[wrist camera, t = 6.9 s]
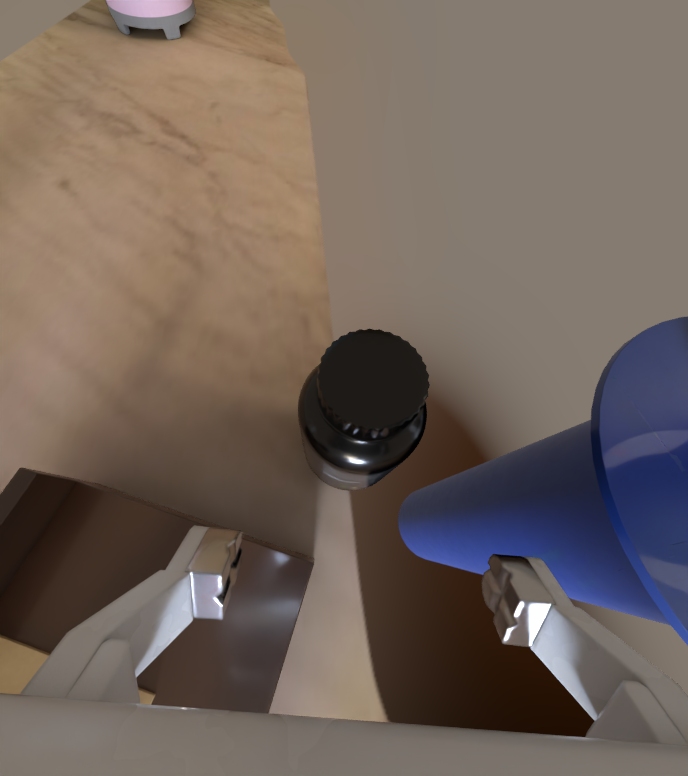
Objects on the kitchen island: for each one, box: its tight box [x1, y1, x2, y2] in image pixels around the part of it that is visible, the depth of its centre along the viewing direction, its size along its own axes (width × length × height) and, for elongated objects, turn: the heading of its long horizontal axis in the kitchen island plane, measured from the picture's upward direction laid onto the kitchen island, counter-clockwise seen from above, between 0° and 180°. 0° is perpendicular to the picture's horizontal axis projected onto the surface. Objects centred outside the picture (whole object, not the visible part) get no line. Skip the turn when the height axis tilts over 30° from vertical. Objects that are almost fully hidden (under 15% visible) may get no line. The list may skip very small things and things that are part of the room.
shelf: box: [0, 468, 314, 713], centre depth 15 cm, size 16×20×6 cm
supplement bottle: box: [298, 329, 429, 491], centre depth 19 cm, size 7×7×12 cm
